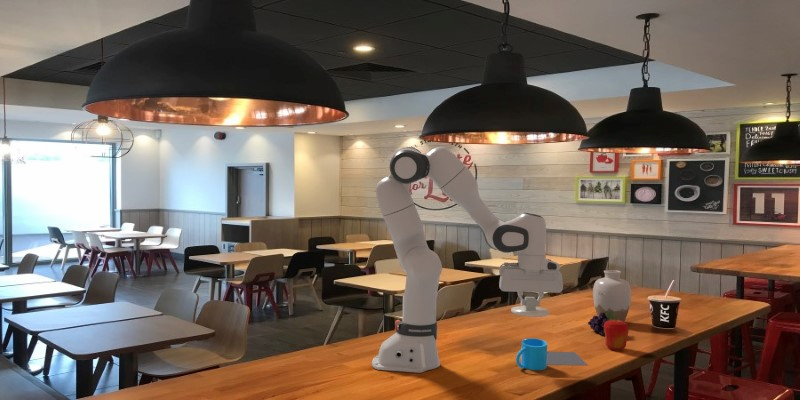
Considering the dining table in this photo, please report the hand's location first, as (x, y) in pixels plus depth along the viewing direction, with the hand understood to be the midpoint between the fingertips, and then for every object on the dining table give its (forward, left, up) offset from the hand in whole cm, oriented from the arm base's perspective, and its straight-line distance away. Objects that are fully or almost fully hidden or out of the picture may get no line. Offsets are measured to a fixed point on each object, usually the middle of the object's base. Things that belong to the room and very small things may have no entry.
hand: (530, 305), depth 199 cm
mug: (0, 0, -21) cm, 21 cm away
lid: (0, 0, -2) cm, 2 cm away
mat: (+12, +11, -21) cm, 26 cm away
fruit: (+41, +49, -21) cm, 67 cm away
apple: (+37, +26, -21) cm, 50 cm away
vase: (+50, +69, -21) cm, 88 cm away
